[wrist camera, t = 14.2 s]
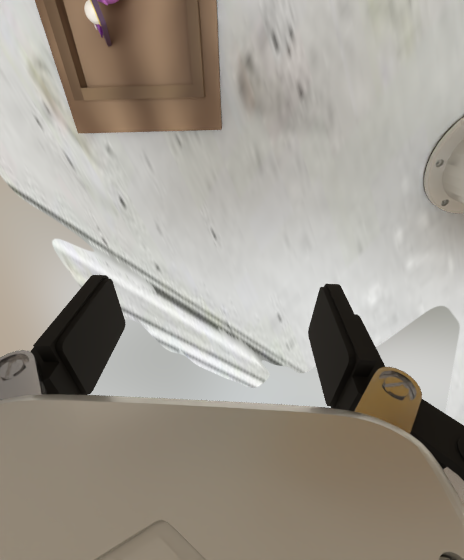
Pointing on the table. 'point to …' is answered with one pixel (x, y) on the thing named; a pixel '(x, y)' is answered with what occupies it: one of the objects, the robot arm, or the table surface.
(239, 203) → the table surface
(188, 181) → the table surface
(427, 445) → the robot arm
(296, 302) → the table surface
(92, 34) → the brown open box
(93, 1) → the purple figure with panel
